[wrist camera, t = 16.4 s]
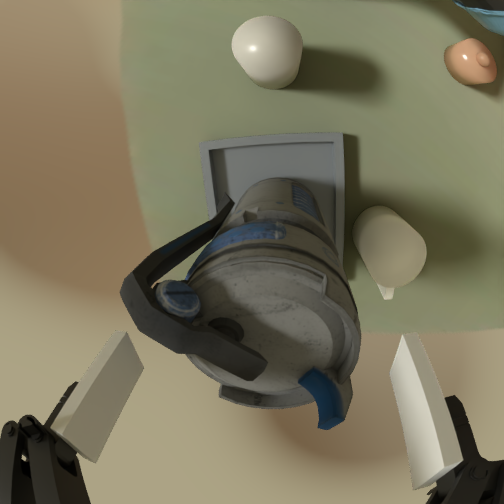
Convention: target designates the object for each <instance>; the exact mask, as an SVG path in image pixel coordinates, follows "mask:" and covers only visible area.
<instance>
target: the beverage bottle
mask: <svg viewBox="0 0 504 504" xmlns="http://www.w3.org/2000/svg"><path fill="white" fill-rule="evenodd" d="M234 205H235V202H234V201H233V200H232V199H231V198H230V197H229V196H228V195H227V194H226V192H224V195H223V197H222V199H221V201H220V202H219V204H218V206H217V207H216V208H217V210H218V213H217V214H216V215H215V216H214V218H213V219H211V220H209V221H208V222H206V223H204V224H202V225H200V226H198V227H197V228H195V229H193V230H191V231H189V232H187V233H186V234H184V235H182V236H180V237H178V238H177V239H175V240H173V241H171V242H169V243H168V244H166V245H164V246H162V247H161V248H159V249H157V250H155V251H154V252H152V253H151V254H150V255H149V256H147V258H145V259H144V260H143V261H142V262H141V263H140V264H139V265H138V266H137V267H136V268H135V269H134V270H133V271H132V272H131V273H130V274H129V275H128V276H127V277H126V278H125V279H124V282H123V284H122V287H121V290H120V295H121V298H122V300H123V302H124V304H125V306H126V308H127V310H128V312H129V314H130V316H131V317H132V319H133V321H134V323H135V325H136V326H137V328H138V330H139V331H140V332H142V333H143V334H145V335H147V336H148V337H150V338H152V339H153V340H155V341H157V342H158V343H160V344H162V345H163V346H165V347H167V348H168V349H170V350H172V351H174V352H175V353H178V354H186V356H187V357H188V358H189V359H190V361H191V362H192V363H193V364H194V365H195V366H196V367H197V368H198V369H199V370H201V371H202V372H203V373H204V374H206V375H207V376H209V377H210V378H212V379H214V380H215V381H217V382H219V383H221V386H220V389H219V397H220V398H223V399H225V400H228V401H230V402H233V403H235V404H239V405H244V406H247V407H253V408H261V409H284V408H292V407H297V406H301V405H305V404H309V403H312V402H314V401H316V403H317V406H318V412H319V423H318V428H320V429H324V430H329V429H331V428H332V427H334V426H336V425H338V424H339V423H341V422H343V421H344V420H345V417H346V414H347V411H348V409H349V406H350V403H351V399H352V395H353V391H352V385H351V379H350V375H351V373H352V372H353V370H354V368H355V366H356V364H357V361H358V357H359V352H360V345H361V329H360V322H359V319H358V312H357V307H356V304H355V301H354V298H353V295H352V292H351V289H350V286H349V283H348V280H347V277H346V274H345V271H344V269H343V267H342V265H341V262H340V260H339V258H338V255H339V254H338V251H337V248H336V246H335V243H334V241H333V238H332V235H331V233H330V230H329V228H328V225H327V222H326V220H325V217H324V215H323V213H322V210H321V208H320V205H319V203H318V201H317V199H316V197H315V196H314V195H313V193H312V192H311V191H310V190H309V189H308V188H307V187H305V186H304V185H303V184H301V183H299V182H297V181H295V180H292V179H289V178H282V177H274V178H267V179H264V180H261V181H259V182H257V183H255V184H253V185H252V186H251V187H250V188H248V189H247V190H246V191H245V193H244V194H243V195H242V196H241V198H240V200H239V202H238V204H237V206H236V208H235V211H234V213H233V215H232V216H231V217H230V218H229V219H228V220H227V221H226V222H225V223H224V225H223V226H222V227H221V225H222V224H223V222H224V221H225V219H226V218H227V216H228V214H229V213H230V211H231V210H232V208H233V206H234ZM220 227H221V229H220ZM219 229H220V230H219ZM218 230H219V231H218ZM217 232H218V233H217ZM216 233H217V234H216ZM215 235H216V236H215ZM213 238H214V239H213ZM211 239H213V240H212V242H210V243H209V244H208V245H207V246H206V247H205V248H204V250H203V251H202V252H201V254H200V255H199V256H198V258H197V259H196V261H195V262H194V264H193V265H192V267H191V268H190V270H189V271H188V273H187V276H186V278H185V280H181V281H176V280H166V281H163V282H161V283H156V285H155V286H154V287H153V289H152V288H151V286H152V285H153V284H154V282H156V281H157V280H158V279H160V278H161V277H162V276H163V275H165V274H166V273H167V272H169V271H170V270H171V269H173V268H174V267H175V266H177V265H178V264H179V263H181V262H182V261H183V260H185V259H186V258H187V257H189V256H190V255H191V254H193V253H194V252H195V251H197V250H198V249H199V248H201V247H202V246H203V245H205V244H206V243H207V242H209V241H210V240H211Z"/></svg>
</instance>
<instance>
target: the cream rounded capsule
mask: <svg viewBox="0 0 504 504" xmlns="http://www.w3.org/2000/svg"><path fill="white" fill-rule="evenodd" d="M302 48H303V41H302V37H301V35H300V33H299V31H298V30H297V28H296V27H295V26H294V25H293V24H291V23H290V22H288V21H287V20H285V19H282V18H279V17H275V16H260V17H255V18H252V19H250V20H248V21H246V22H245V23H243V24H242V25H241V26H240V27H239V28H238V29H237V31H236V32H235V34H234V36H233V39H232V51H233V54H234V56H235V58H236V59H237V61H238V62H239V63H240V65H241V66H242V67H243V69H244V70H245V71H246V73H247V74H248V76H249V77H250V78H251V80H252V81H253V82H254V83H255V84H257V85H258V86H260V87H263V88H266V89H280V88H283V87H286V86H288V85H289V84H291V83H292V82H293V81H294V79H295V78H296V76H297V74H298V71H299V65H300V60H301V54H302Z"/></svg>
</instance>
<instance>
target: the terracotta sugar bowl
mask: <svg viewBox="0 0 504 504" xmlns="http://www.w3.org/2000/svg"><path fill="white" fill-rule="evenodd" d="M444 61H445V64H446V67H447V69H448V71H449V73H450V74H451V75H452V77H453V78H454V79H455V80H456V81H458V82H459V83H461V84H463V85H474V84H482V83H490V82H493V81H494V80H495V78H496V74H497V68H496V63H495V60H494V58H493V56H492V54H491V52H490V51H489V50H488V48H487V47H486V46H485V45H484V44H483V43H482V42H480V41H479V40H477V39H474V38H469V39H466V40H463V41H461V42H458V43H456V44H453V45H451V46H448V47H447V48H446V50H445V52H444Z"/></svg>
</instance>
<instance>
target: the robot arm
mask: <svg viewBox="0 0 504 504" xmlns="http://www.w3.org/2000/svg"><path fill="white" fill-rule="evenodd" d="M453 2H454V3H455V4H456V5H458V6H459V7H461V8H463V9H464V10H466V11H467V12H468V13H469V14H470V15H471V16H472V17H473V18H474V19H476V20H477V21H478V22H479V23H480V24H481V25H482V26H483V27H485V28H486V29H488V30H489V31H491V32H494V33H497V34H500V35H502V36H504V0H453ZM143 369H144V367H143V365H142V363H141V361H140V359H139V357H138V355H137V352H136V351H135V348H134V346H133V344H132V342H131V340H130V338H129V335H128V333H127V332H125V331H118V330H115V332H114V333H113V335H112V336H111V337H110V338H109V340H108V341H107V343H106V344H105V345H104V347H103V348H102V350H101V351H100V352H99V354H98V355H97V357H96V358H95V360H94V361H93V362H92V364H91V365H90V367H89V368H88V370H87V371H86V373H85V374H84V376H83V377H82V378H81V380H80V381H79V382H74V383H73V384H72V385H71V386H69V387H68V389H67V390H66V392H65V393H64V395H63V397H62V398H61V399H60V401H59V403H58V404H57V405H56V407H55V409H54V410H53V412H52V413H51V415H50V416H49V418H48V420H47V421H46V423H45V424H44V425H42V424H41V423H40V422H39V421H38V420H37V419H36V418H35V417H34V416H32V415H25V416H23V417H22V418H21V419H20V420H19V422H18V424H17V423H16V422H15V421H9V422H7V423H6V424H5V425H4V427H3V429H2V433H1V438H0V504H91V503H90V500H89V496H88V493H87V490H86V487H85V483H84V480H83V476H82V472H81V468H80V464H79V460H78V458H77V456H76V454H77V452H78V453H79V454H80V455H81V456H82V457H84V458H85V459H88V460H89V461H92V462H94V463H96V462H97V460H98V458H99V456H100V454H101V452H102V450H103V448H104V445H105V443H106V441H107V439H108V437H109V435H110V433H111V431H112V429H113V427H114V425H115V423H116V421H117V419H118V417H119V415H120V413H121V411H122V409H123V407H124V405H125V403H126V402H127V400H128V398H129V396H130V394H131V392H132V390H133V388H134V386H135V384H136V382H137V381H138V379H139V377H140V375H141V373H142V371H143ZM389 375H390V378H391V382H392V386H393V390H394V394H395V397H396V402H397V405H398V410H399V414H400V419H401V423H402V428H403V433H404V438H405V442H406V448H407V454H408V459H409V466H410V472H411V479H412V487H413V490H417V489H420V488H424V487H427V486H429V485H431V484H433V483H434V482H436V483H437V486H436V487H435V488H433V489H431V490H430V491H429V492H428V493H427V495H430V494H431V493H432V494H431V496H430V498H429V499H428V501H427V503H426V504H504V460H499V461H487V460H486V459H484V458H482V457H481V456H480V454H479V452H478V449H477V446H476V443H475V439H474V436H473V433H472V430H471V427H470V424H469V423H468V422H469V421H468V418H467V416H466V412H465V410H464V407H463V404H462V403H461V401H460V400H459V399H458V398H457V397H456V396H455V395H453V396H449V397H446V398H444V396H443V393H442V390H441V388H440V385H439V382H438V380H437V377H436V375H435V372H434V370H433V367H432V365H431V363H430V360H429V358H428V356H427V353H426V351H425V349H424V346H423V344H422V342H421V340H420V338H419V336H418V333H417V332H416V333H408V334H402V337H401V341H400V344H399V347H398V350H397V353H396V356H395V359H394V362H393V364H392V367H391V370H390V373H389ZM22 455H24V456H25V457H26V461H24V460H22V459H21V458H22Z"/></svg>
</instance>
